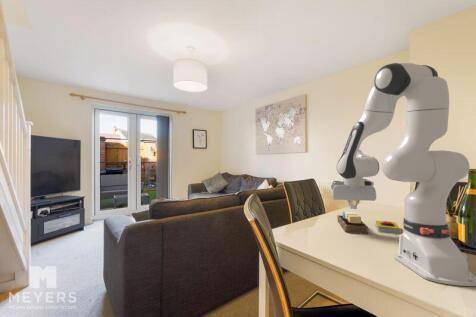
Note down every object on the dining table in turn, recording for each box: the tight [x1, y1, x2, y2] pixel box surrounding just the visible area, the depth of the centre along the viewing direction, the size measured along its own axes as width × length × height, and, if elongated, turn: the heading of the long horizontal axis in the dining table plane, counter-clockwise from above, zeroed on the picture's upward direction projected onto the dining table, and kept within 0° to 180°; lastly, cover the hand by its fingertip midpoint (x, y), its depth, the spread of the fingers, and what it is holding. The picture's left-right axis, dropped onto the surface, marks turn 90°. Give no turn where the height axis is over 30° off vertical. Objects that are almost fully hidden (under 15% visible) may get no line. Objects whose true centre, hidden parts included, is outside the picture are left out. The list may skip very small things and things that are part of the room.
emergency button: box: [374, 220, 402, 236], centre depth 112 cm, size 9×4×15 cm
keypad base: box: [337, 214, 369, 235], centre depth 117 cm, size 20×10×3 cm, turn 166°
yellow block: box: [348, 214, 362, 224], centre depth 111 cm, size 4×5×4 cm
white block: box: [344, 211, 358, 220], centre depth 117 cm, size 4×5×4 cm
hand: (353, 208), depth 111 cm, fingers closed
